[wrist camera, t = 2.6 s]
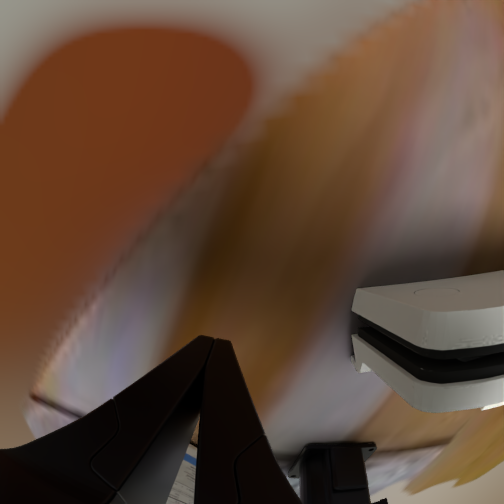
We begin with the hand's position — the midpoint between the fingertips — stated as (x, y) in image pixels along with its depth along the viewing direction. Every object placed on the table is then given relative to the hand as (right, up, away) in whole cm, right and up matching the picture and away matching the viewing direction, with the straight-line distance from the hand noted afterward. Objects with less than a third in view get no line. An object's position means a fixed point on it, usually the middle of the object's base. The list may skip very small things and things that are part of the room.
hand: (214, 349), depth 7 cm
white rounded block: (+14, 0, +6) cm, 16 cm away
